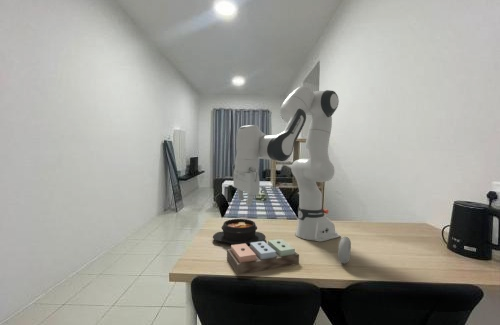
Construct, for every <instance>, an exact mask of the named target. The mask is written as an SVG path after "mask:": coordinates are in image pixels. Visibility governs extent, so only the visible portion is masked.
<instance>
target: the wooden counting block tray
mask: <svg viewBox="0 0 500 325" xmlns="http://www.w3.org/2000/svg"><path fill="white" fill-rule="evenodd" d="M248 247H249V248H250V245H249V246H248ZM226 259H227V261H228V262H229V264H230V265H231V266H232V269H233V270H234V272H235V273H236V274H237V275H242V274H243V275H244V274H247V273H255V272H260V271H265V270H271V269H278V268H282V267H287V266H294V265H299V264H300V254H299V253H298V252H296V251H295V254H294V255H288V256H282V257H280V256H279V255H278V254H277V253H276V257H275V258H269V259H263V260H260V259H259V258H258V257H257V256H256V261H250V262H244V263H239V262H238V261H237V260H236V258H235V257H234V255H233V254H232V253H231V248H229V249H226Z"/></svg>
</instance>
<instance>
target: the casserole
mask: <svg viewBox="0 0 500 325" xmlns="http://www.w3.org/2000/svg"><path fill="white" fill-rule="evenodd" d="M221 230H222V231H218V232H216V233H214V234H213V236H212V239H213V240H214V241H217V242H223V243H227V244H231V245H237V244H244V243H246V245H248V244H250V243H252V242H260V241H265V240H266V235H265V234H264V233H263V232H260V231H257V230H258V226H257V224H256V222H255V221H253V220H250V219H247V218H246V219H245V218H232V219H228V220H226V221H224V222H223V224H222V226H221Z"/></svg>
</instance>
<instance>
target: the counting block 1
mask: <svg viewBox="0 0 500 325" xmlns="http://www.w3.org/2000/svg"><path fill="white" fill-rule="evenodd" d="M230 249H231V253H232V254H233V255H234V257H235V258H236V260H237V261H238V262H239V263H244V262H250V261H256V254H255V253H254V252H253V251H252V250H251V249H250V248H249V246H248V244H246V243H244V244H231V245H230Z"/></svg>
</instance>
